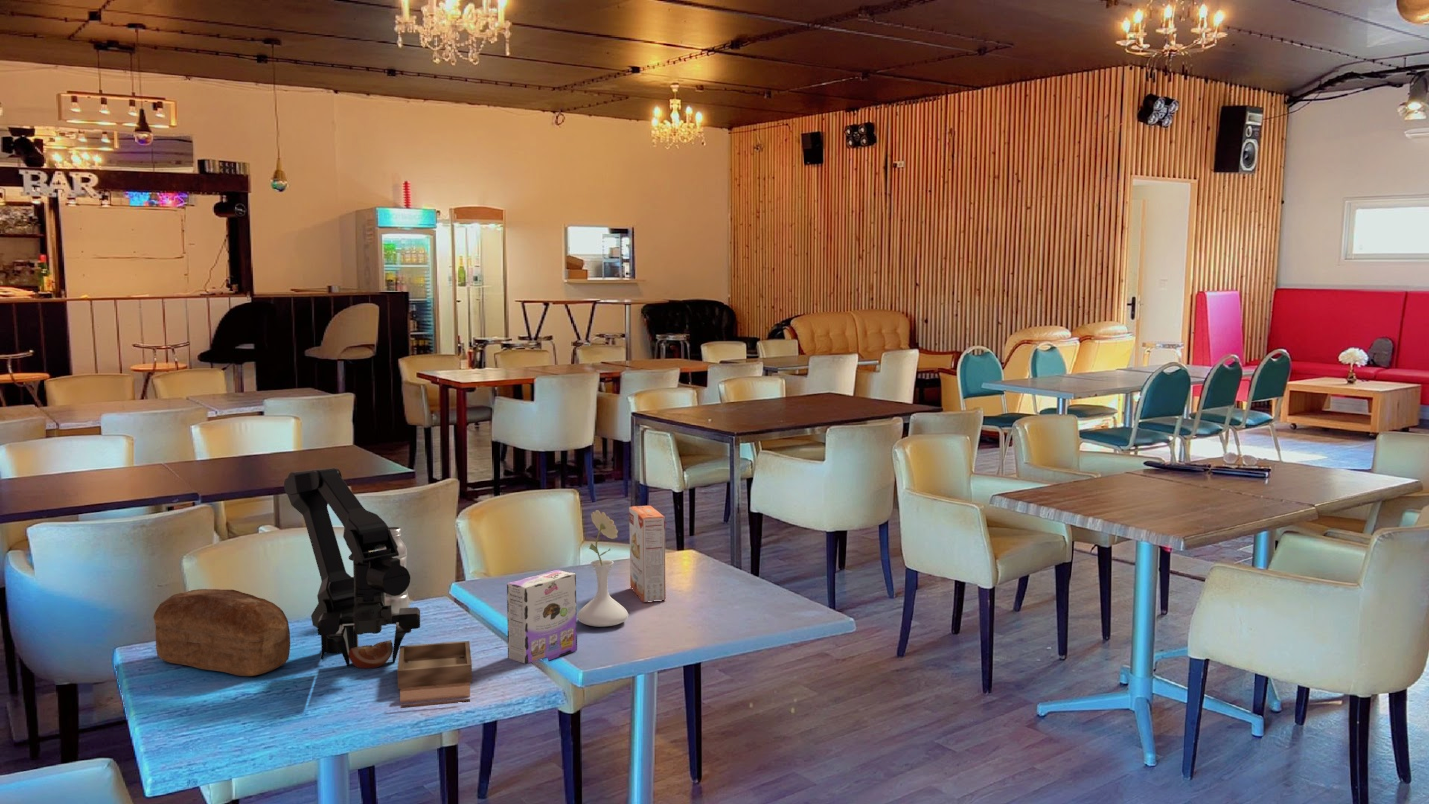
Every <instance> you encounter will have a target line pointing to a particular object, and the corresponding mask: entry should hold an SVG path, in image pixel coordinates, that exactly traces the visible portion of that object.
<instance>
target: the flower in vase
mask: <svg viewBox="0 0 1429 804" xmlns="http://www.w3.org/2000/svg"><path fill="white" fill-rule="evenodd" d="M590 516H591V522H592V524H594V525H595V528H596V529H597V530H598V533H597V535H596V539H595V545H594V544H593V543H590V546H589V550H591V551H592V552H594V553H595V554H597V557H598V560H594V561H592V562H590V564H591V566H592V567H593V568H594V570H595V574H596V580H597V581H596V582H597V591H596V593H595V596H594V598H592V599H591V600H590V601H588V602H587V603H586V604H585V605H584V606H583V607H581V609H580V610H579V611H578V613H577V620H578V621H579V622H580V623H582V624H584V625H587V626H590V627H600V628H601V627H612V626H617V625H620V624H623V622H626V620H627V619H628V617H629V612H628V611H627V609H626V608H625V607H624V606H623V605H621V604H620V603H619V602H618V601H616V599H614V598H612V597H611V595H610V593H609V587H608V585H609V584H608V583H609V575H610V574H609V573H610V571H611V568H612V566H613V565H614V564H615V563H614V561H613V560H610V559H602V558H601V556H603V555H604V554H606V553H607V552H609V551H611V548H609V549H608V550H606V551H603V552H602V553H601V554H600V552H599V549H598V540H599V538H600V534H602V535H603V536H605V537H607V538H608V539H611V540H615V539H616V538H618V533H619V530H618V529H617V526H616V525H615V521H614V520H613V519H610V517H609V516H608V515H606V513H605V512H604V511H603V512H600V510H597V509H596V510H595V511H592V513H590Z"/></svg>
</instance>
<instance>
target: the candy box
mask: <svg viewBox="0 0 1429 804" xmlns="http://www.w3.org/2000/svg"><path fill="white" fill-rule="evenodd" d="M506 588H507V589H506V596H507V597H506V600H507V601H506V603H507V604H506V607H507V609H506V610H507V611H506V612H507V658H508V659H509V660H512V661H516V662H519V663H522V664H525V665H526V664H529V663H533V662H537V661H540V660H542V659H545V658H547V661H551V660H554V659H557V658H560V657H562V656H565V655H567V654H571V653H574V652H576V651H578V628H577V627H578V625H577V620H578V618H577V615H578V613H577V575H576V573H574V572H571V571H568V570H567V571H566V570H562V569H555V570H552V571H547V572H544V573H540V574H537V575H533V576H529V577H526V578H525V577H524V578H522V579H518V580H517V579H516V580H515V581H511V582H507V583H506Z"/></svg>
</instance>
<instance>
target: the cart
mask: <svg viewBox="0 0 1429 804" xmlns="http://www.w3.org/2000/svg"><path fill="white" fill-rule="evenodd" d="M471 655H472V653H471V643H470V641H469V640H463V641H461V640H460V641H449V642H439V643H438V642H436V643H425V644H413V645H412V644H411V645H408V644H407V645H400V647H399V650H398V661H397V689H398V690H400V688H410V687H422V686H434V685H445V684H457V683H469V682H470V684H472V683H473V668H472V667H473V665H472V664H473V663H472V656H471Z"/></svg>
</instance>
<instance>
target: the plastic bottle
mask: <svg viewBox="0 0 1429 804" xmlns="http://www.w3.org/2000/svg"><path fill="white" fill-rule="evenodd" d="M388 527H389V529H390V532H391V534H392V536H393V538H394V540H395V542H396V544H397V546H398V548H397V550H398V553H399V556H396V557H392V558H398V559H400V565H401V566H403V567H405V568H406V569H407V559H408V548H407V546H406V544H405V543H404V541H403V540H402V539H401V537H402V532H401V531H402V529H401V527H399V526H388ZM384 549H386V547H385V548H383V549H378V550H377V551H379V550H384ZM388 605H391V607H392V614H399V610H400V608H410V597H409V593H408V588H407V589H406V590H405V592H403V593H402V594H400V595H397V596H392V595H389V594H386V593H385V606H388Z"/></svg>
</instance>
